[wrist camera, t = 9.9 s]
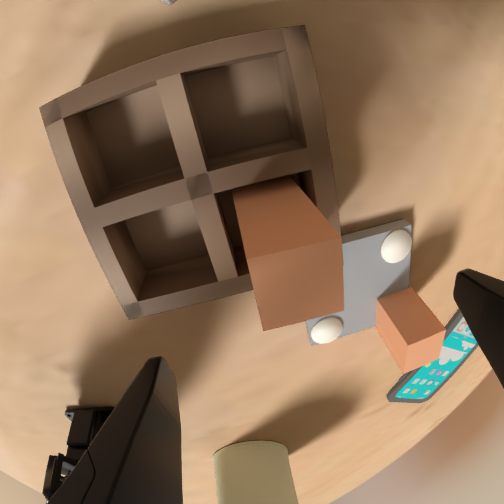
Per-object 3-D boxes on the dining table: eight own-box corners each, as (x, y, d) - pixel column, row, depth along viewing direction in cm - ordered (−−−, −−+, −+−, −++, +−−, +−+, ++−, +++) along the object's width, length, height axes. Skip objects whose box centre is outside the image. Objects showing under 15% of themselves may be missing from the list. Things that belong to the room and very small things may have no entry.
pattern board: (402, 308, 24) (438, 358, 19) (308, 339, 24) (330, 399, 19) (406, 218, 20) (459, 261, 15) (293, 248, 20) (321, 307, 15)
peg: (293, 222, 18) (344, 310, 11) (241, 233, 18) (263, 331, 11) (285, 171, 17) (341, 237, 10) (229, 183, 17) (246, 259, 10)
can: (220, 438, 30) (230, 538, 20) (299, 439, 33) (322, 528, 22) (206, 468, 34) (213, 549, 24) (273, 469, 36) (289, 544, 26)
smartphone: (505, 312, 27) (426, 403, 33) (500, 306, 28) (423, 398, 33) (473, 294, 24) (382, 402, 30) (467, 288, 25) (379, 395, 31)
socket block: (320, 232, 20) (343, 265, 16) (140, 279, 20) (129, 319, 16) (283, 38, 14) (304, 25, 11) (72, 101, 14) (39, 107, 11)
